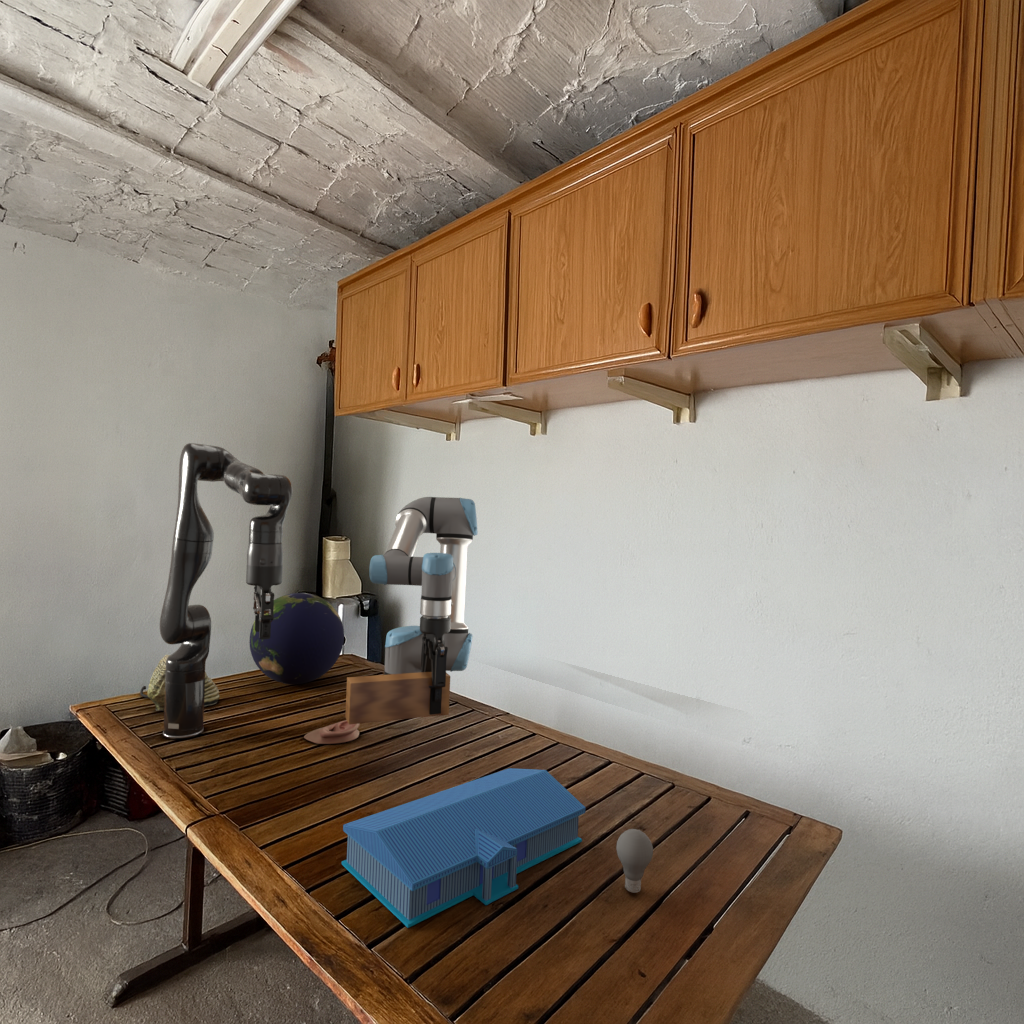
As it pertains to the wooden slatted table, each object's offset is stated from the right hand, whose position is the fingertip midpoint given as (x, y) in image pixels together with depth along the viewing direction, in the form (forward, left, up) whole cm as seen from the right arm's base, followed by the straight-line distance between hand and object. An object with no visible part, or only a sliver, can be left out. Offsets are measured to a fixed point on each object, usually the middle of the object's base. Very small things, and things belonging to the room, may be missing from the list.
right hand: (431, 709), depth 156 cm
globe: (-51, -56, -12) cm, 77 cm away
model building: (+41, +17, -12) cm, 46 cm away
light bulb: (+48, +44, -12) cm, 66 cm away
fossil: (-22, -78, -12) cm, 82 cm away
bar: (+4, -7, -1) cm, 8 cm away
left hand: (+17, -36, +20) cm, 44 cm away
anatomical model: (-8, -28, -12) cm, 31 cm away
